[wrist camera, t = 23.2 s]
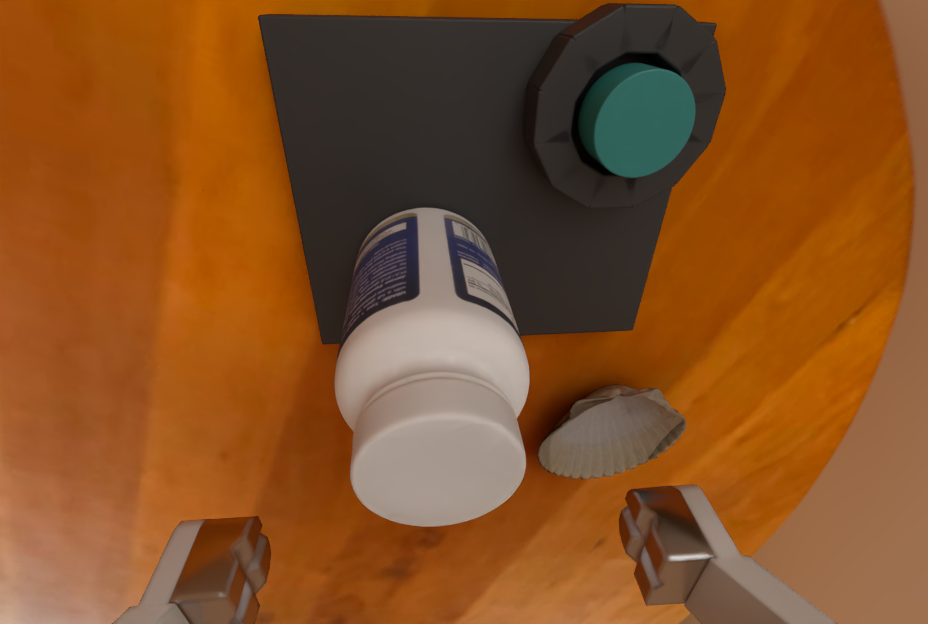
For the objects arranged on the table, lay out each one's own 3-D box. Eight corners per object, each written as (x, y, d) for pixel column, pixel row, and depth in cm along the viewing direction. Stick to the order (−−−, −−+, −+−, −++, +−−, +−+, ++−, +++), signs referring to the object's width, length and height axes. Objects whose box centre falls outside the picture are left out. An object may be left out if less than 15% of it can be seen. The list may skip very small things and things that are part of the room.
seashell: (534, 440, 30) (664, 452, 28) (533, 486, 27) (674, 500, 26) (543, 357, 24) (706, 368, 23) (542, 406, 22) (722, 421, 21)
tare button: (682, 62, 14) (710, 69, 13) (657, 163, 16) (679, 177, 14) (585, 61, 14) (604, 68, 12) (571, 164, 15) (586, 179, 14)
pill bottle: (361, 324, 19) (327, 551, 11) (351, 202, 16) (295, 394, 8) (487, 323, 20) (539, 538, 12) (499, 205, 17) (578, 386, 9)
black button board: (699, 5, 15) (754, 6, 13) (621, 313, 22) (647, 352, 20) (265, -4, 14) (235, -5, 12) (326, 325, 21) (315, 369, 19)
